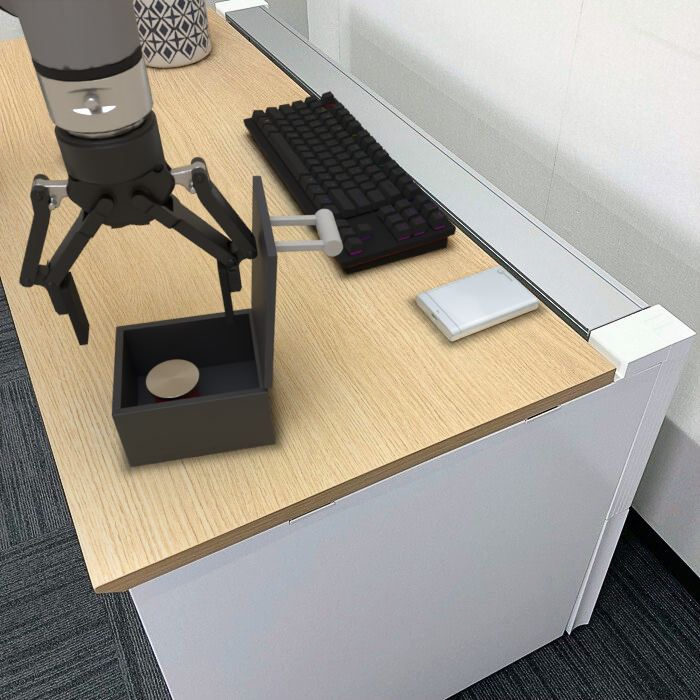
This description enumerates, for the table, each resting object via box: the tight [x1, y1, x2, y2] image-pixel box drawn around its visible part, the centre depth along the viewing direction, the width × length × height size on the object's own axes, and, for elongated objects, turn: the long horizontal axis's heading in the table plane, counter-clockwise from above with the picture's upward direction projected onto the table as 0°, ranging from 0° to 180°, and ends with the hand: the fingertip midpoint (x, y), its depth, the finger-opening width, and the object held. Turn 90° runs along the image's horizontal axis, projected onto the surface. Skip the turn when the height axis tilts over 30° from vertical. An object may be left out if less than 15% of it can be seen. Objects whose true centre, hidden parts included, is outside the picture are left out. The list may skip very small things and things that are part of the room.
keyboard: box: [243, 90, 457, 276], centre depth 109 cm, size 42×16×5 cm, turn 23°
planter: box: [133, 0, 213, 69], centre depth 142 cm, size 16×16×14 cm
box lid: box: [250, 175, 343, 389], centre depth 69 cm, size 15×13×7 cm
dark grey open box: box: [111, 307, 276, 468], centre depth 76 cm, size 15×13×8 cm
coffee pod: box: [146, 360, 201, 403], centre depth 76 cm, size 5×5×4 cm
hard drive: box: [415, 264, 540, 342], centre depth 90 cm, size 2×8×12 cm
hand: (158, 325), depth 70 cm, fingers open, 13 cm apart
